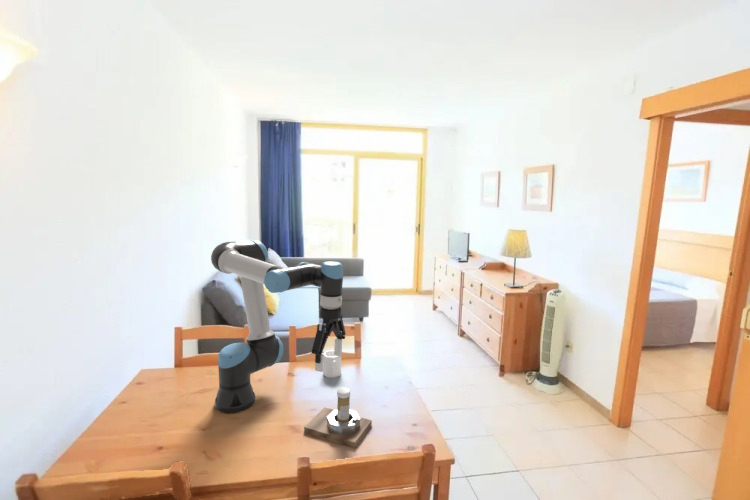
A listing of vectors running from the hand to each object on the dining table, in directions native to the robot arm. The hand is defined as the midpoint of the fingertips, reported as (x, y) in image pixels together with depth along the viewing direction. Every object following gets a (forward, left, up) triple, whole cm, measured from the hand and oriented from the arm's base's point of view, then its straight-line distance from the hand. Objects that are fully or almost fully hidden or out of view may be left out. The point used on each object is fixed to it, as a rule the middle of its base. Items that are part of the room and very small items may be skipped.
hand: (328, 362), depth 138 cm
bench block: (+5, -1, -24) cm, 24 cm away
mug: (-17, +34, -24) cm, 45 cm away
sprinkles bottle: (+7, -1, -22) cm, 23 cm away
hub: (+7, -1, -22) cm, 23 cm away
